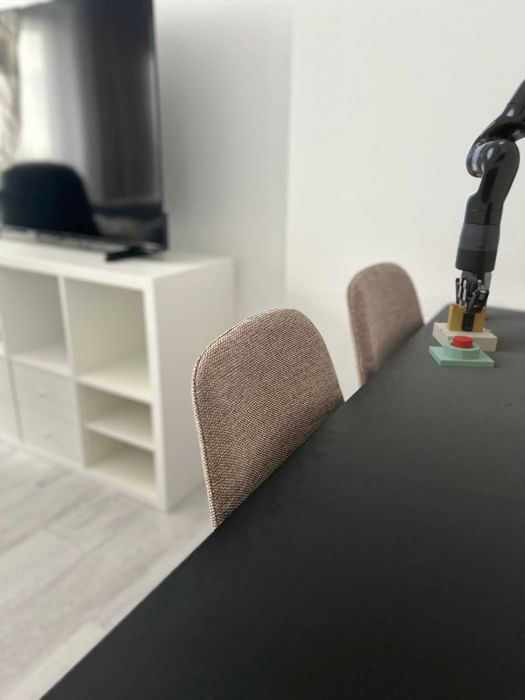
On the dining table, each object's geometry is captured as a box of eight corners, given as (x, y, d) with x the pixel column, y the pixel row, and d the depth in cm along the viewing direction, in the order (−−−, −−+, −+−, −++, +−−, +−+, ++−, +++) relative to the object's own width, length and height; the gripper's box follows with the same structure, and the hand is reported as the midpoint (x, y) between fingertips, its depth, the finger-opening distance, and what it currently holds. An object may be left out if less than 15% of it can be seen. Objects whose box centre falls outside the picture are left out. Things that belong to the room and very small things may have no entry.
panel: (479, 336, 115) (481, 322, 114) (499, 352, 104) (502, 338, 103) (428, 334, 115) (430, 321, 114) (443, 350, 104) (446, 336, 103)
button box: (478, 353, 103) (480, 339, 102) (493, 367, 96) (496, 352, 95) (428, 351, 104) (430, 337, 103) (439, 366, 96) (442, 350, 95)
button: (467, 344, 101) (469, 335, 100) (474, 350, 97) (475, 341, 97) (449, 343, 101) (450, 335, 100) (455, 349, 97) (456, 340, 97)
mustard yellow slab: (479, 328, 109) (483, 305, 108) (482, 331, 108) (486, 307, 106) (446, 327, 110) (450, 304, 108) (449, 330, 108) (452, 306, 106)
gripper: (511, 252, 96) (495, 339, 102) (483, 242, 109) (471, 320, 115) (471, 250, 96) (457, 338, 102) (448, 241, 109) (437, 319, 115)
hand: (464, 328), depth 109 cm, fingers closed on mustard yellow slab, 2 cm apart
